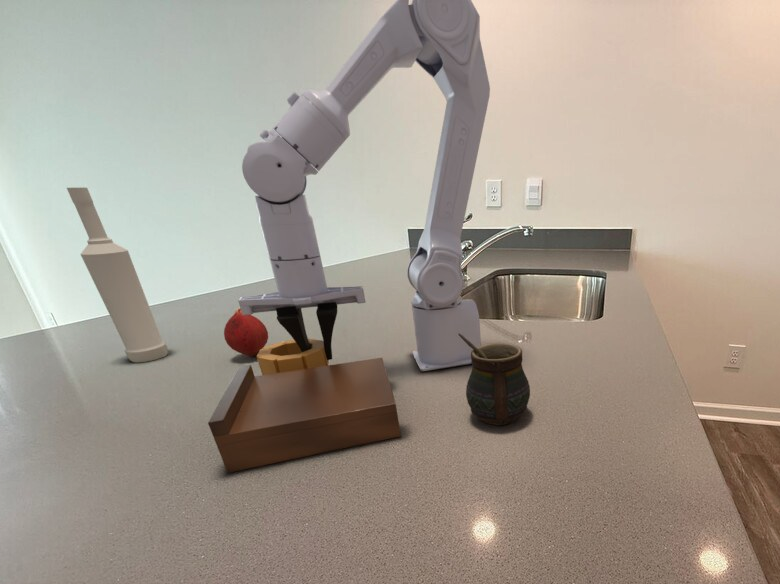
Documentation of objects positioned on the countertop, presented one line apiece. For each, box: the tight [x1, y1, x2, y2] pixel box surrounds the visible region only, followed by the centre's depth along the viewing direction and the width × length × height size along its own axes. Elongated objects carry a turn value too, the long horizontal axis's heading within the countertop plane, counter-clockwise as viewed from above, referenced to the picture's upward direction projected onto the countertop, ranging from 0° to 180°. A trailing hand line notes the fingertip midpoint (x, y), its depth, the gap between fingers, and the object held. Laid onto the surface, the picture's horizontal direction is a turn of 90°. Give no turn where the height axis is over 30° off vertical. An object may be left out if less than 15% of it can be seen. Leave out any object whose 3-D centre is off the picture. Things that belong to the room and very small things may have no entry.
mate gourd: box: [458, 333, 531, 427], centre depth 45 cm, size 7×8×10 cm
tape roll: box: [256, 338, 330, 375], centre depth 55 cm, size 8×8×3 cm
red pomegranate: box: [223, 307, 269, 358], centre depth 64 cm, size 6×6×8 cm
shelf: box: [207, 357, 402, 474], centre depth 45 cm, size 16×14×6 cm
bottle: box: [66, 187, 169, 363], centre depth 61 cm, size 5×5×25 cm
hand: (319, 358), depth 56 cm, fingers closed on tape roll, 2 cm apart
